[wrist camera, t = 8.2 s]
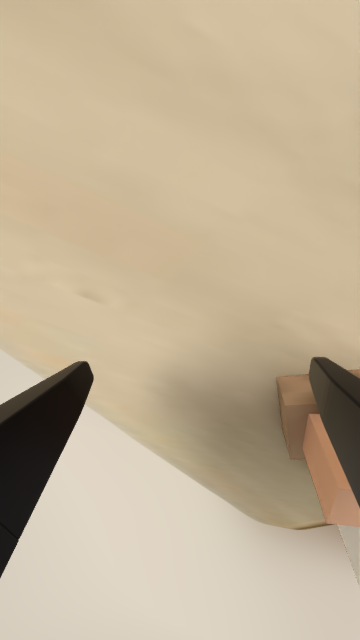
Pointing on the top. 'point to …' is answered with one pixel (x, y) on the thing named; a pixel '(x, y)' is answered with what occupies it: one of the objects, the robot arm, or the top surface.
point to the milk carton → (352, 546)
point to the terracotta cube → (329, 476)
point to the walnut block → (297, 409)
